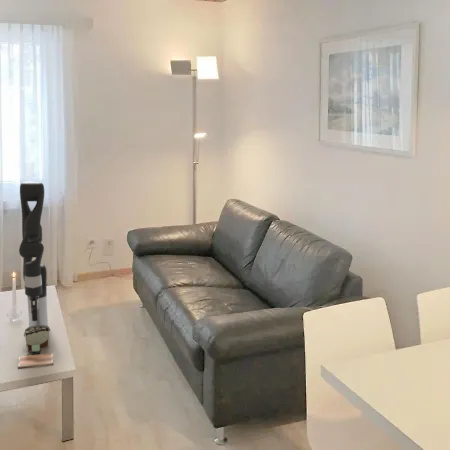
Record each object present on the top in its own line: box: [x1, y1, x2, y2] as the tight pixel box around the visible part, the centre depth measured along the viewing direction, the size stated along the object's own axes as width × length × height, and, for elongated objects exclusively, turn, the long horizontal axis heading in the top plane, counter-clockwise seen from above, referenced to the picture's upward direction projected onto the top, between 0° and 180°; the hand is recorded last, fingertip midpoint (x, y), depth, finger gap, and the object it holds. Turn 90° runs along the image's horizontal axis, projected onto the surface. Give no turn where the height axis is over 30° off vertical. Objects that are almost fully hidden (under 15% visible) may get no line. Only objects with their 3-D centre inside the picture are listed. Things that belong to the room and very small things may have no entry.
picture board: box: [17, 352, 54, 370], centre depth 261 cm, size 11×15×1 cm
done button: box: [32, 344, 40, 351], centre depth 267 cm, size 3×3×2 cm
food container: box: [23, 325, 51, 353], centre depth 273 cm, size 12×6×10 cm, turn 127°
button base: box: [30, 349, 42, 355], centre depth 268 cm, size 4×4×1 cm
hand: (34, 317), depth 270 cm, fingers open, 8 cm apart
